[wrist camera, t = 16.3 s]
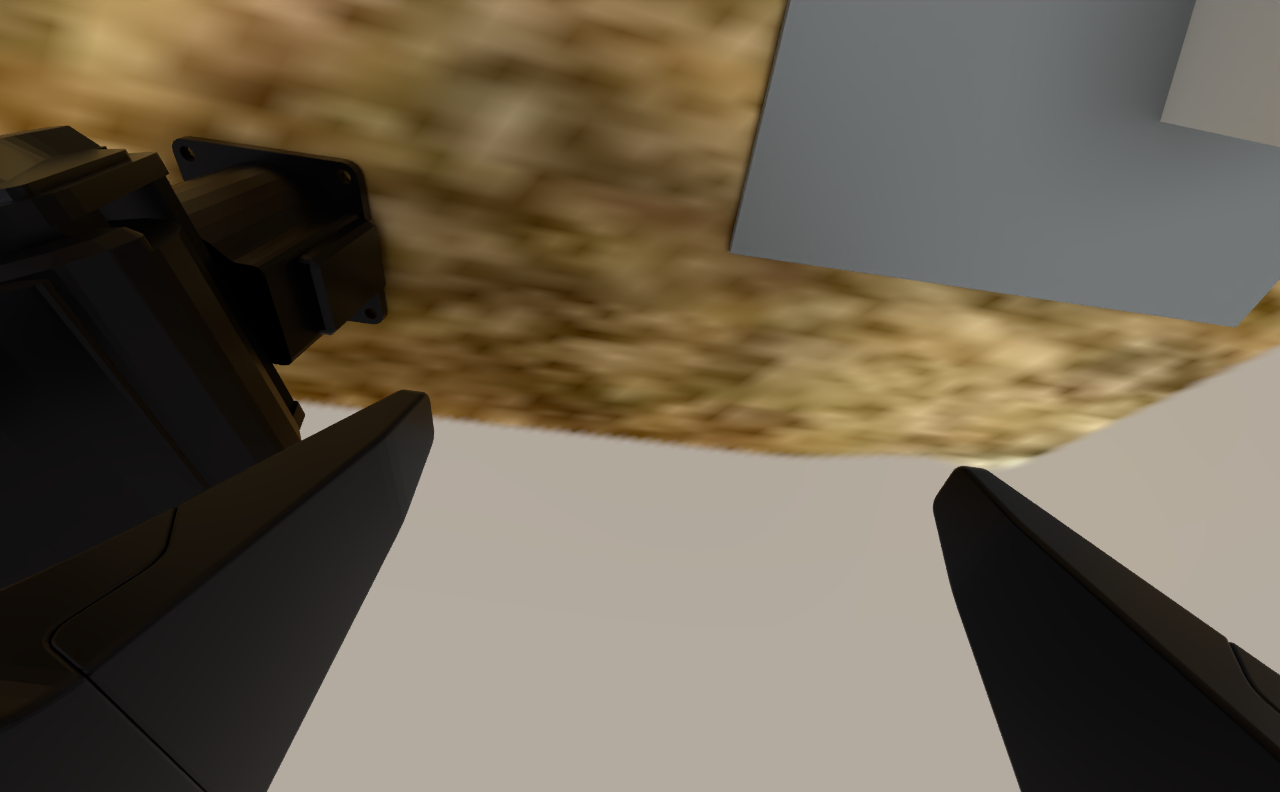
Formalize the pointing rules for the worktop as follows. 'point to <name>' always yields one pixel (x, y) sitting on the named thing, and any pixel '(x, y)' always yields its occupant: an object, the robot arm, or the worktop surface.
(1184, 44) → the white rectangular block
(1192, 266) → the mat
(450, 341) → the worktop surface
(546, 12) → the worktop surface
